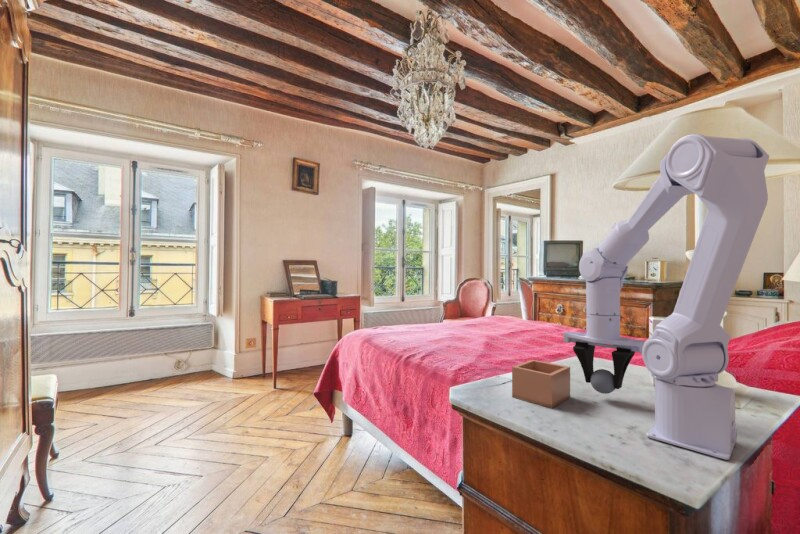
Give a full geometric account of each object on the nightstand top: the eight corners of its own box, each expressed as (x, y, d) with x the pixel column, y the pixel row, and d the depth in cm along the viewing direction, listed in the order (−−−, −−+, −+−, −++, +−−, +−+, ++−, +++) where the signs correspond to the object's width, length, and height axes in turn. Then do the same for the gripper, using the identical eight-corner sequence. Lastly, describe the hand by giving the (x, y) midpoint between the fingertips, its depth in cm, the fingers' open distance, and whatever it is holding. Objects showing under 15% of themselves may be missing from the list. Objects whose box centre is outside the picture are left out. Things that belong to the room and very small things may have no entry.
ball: (620, 393, 72) (620, 369, 72) (612, 398, 69) (612, 374, 69) (595, 387, 75) (595, 365, 75) (586, 392, 72) (586, 369, 72)
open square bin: (570, 397, 73) (570, 367, 73) (551, 408, 68) (551, 375, 68) (532, 387, 79) (532, 359, 79) (512, 397, 74) (512, 366, 74)
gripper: (653, 315, 69) (653, 388, 69) (573, 309, 80) (573, 372, 80) (641, 319, 64) (642, 398, 64) (558, 312, 75) (558, 379, 75)
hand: (603, 384), depth 72 cm, fingers closed on ball, 4 cm apart
